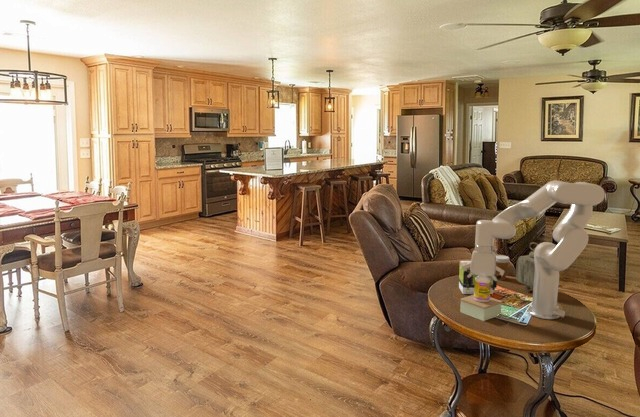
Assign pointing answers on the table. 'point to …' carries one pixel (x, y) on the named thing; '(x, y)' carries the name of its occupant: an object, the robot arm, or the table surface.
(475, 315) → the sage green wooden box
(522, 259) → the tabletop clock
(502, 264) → the disposable coffee cup
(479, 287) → the supplement bottle
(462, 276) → the tea box
